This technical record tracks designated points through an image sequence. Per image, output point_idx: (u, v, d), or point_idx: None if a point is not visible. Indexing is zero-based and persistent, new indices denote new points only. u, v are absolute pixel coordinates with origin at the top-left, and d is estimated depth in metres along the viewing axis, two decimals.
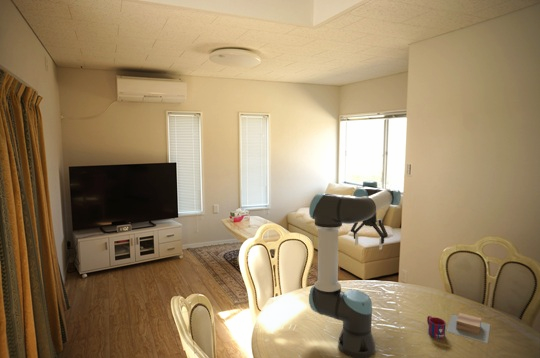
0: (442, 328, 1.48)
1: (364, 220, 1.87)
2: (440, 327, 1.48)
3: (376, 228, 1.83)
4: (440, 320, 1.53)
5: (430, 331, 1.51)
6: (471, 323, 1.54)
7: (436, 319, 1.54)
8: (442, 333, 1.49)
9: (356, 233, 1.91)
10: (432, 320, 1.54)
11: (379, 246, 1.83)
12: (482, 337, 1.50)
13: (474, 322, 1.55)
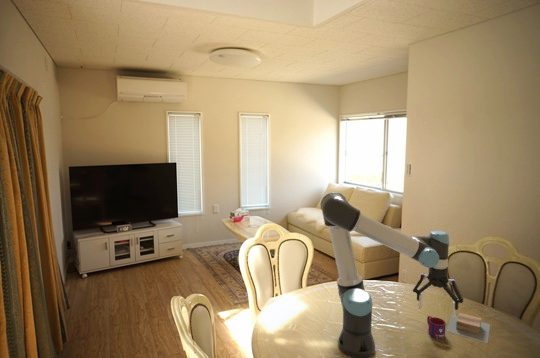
0: (442, 328, 1.48)
1: (431, 279, 1.51)
2: (440, 327, 1.48)
3: (448, 290, 1.48)
4: (440, 320, 1.53)
5: (430, 331, 1.51)
6: (471, 323, 1.54)
7: (436, 319, 1.54)
8: (442, 333, 1.49)
9: (420, 294, 1.56)
10: (432, 320, 1.54)
11: (452, 313, 1.47)
12: (482, 337, 1.50)
13: (474, 322, 1.55)
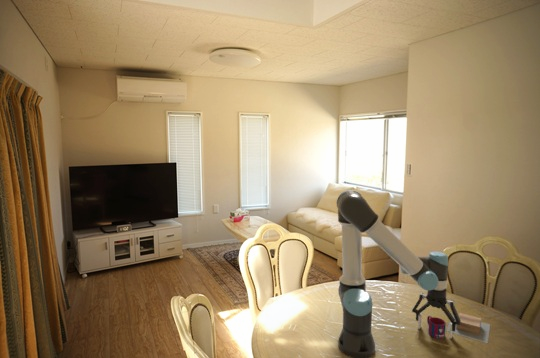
0: (442, 328, 1.48)
1: (430, 300, 1.52)
2: (440, 327, 1.48)
3: (446, 312, 1.49)
4: (440, 320, 1.53)
5: (430, 331, 1.51)
6: (471, 323, 1.54)
7: (436, 319, 1.54)
8: (442, 333, 1.49)
9: (419, 314, 1.57)
10: (432, 320, 1.54)
11: None
12: (482, 337, 1.50)
13: (474, 322, 1.55)
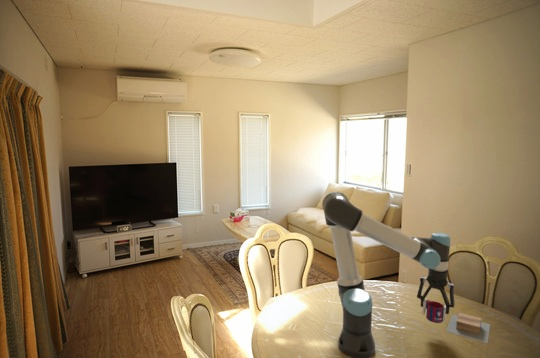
0: (440, 311, 1.48)
1: (431, 282, 1.51)
2: (438, 310, 1.48)
3: (444, 294, 1.49)
4: (438, 304, 1.53)
5: (428, 314, 1.51)
6: (471, 323, 1.54)
7: (434, 303, 1.54)
8: (440, 316, 1.48)
9: (424, 300, 1.55)
10: (430, 304, 1.54)
11: (443, 317, 1.49)
12: (482, 337, 1.50)
13: (474, 322, 1.55)
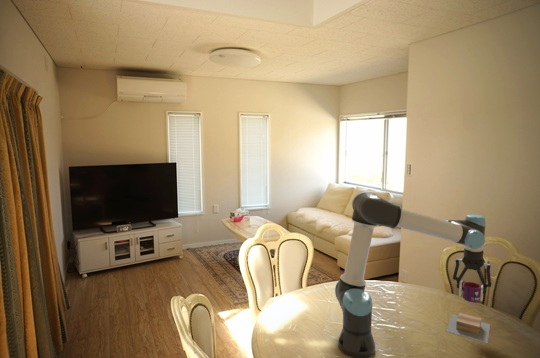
0: (478, 291, 1.50)
1: (467, 263, 1.54)
2: (476, 290, 1.50)
3: (480, 274, 1.51)
4: (475, 284, 1.55)
5: (465, 295, 1.53)
6: (471, 323, 1.54)
7: (471, 284, 1.56)
8: (478, 296, 1.51)
9: (460, 281, 1.57)
10: (467, 285, 1.56)
11: (480, 297, 1.52)
12: (482, 337, 1.50)
13: (474, 322, 1.55)
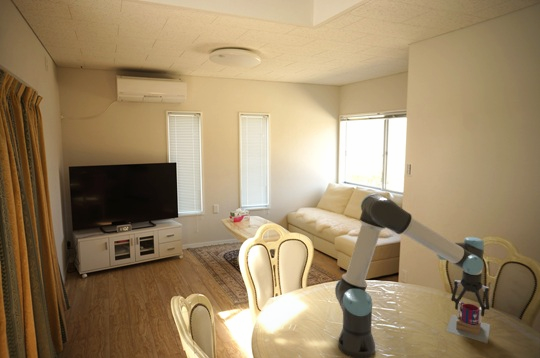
0: (476, 313, 1.52)
1: (465, 285, 1.55)
2: (474, 312, 1.52)
3: (479, 297, 1.52)
4: (473, 306, 1.56)
5: (464, 317, 1.54)
6: None
7: (469, 305, 1.57)
8: (476, 318, 1.52)
9: (458, 303, 1.58)
10: (465, 306, 1.58)
11: None
12: (482, 337, 1.50)
13: None
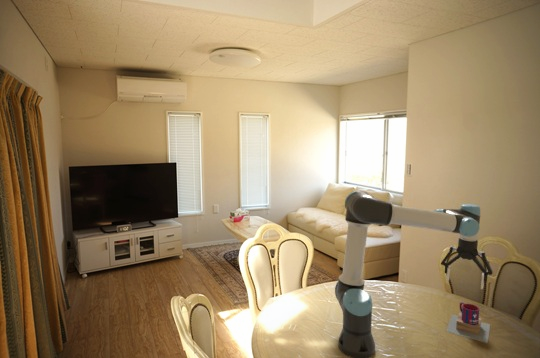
0: (476, 313, 1.52)
1: (461, 252, 1.54)
2: (474, 313, 1.52)
3: (478, 262, 1.50)
4: (473, 306, 1.56)
5: (464, 317, 1.54)
6: None
7: (469, 305, 1.57)
8: (476, 318, 1.52)
9: (448, 266, 1.58)
10: (465, 306, 1.58)
11: (481, 285, 1.50)
12: (482, 337, 1.50)
13: None
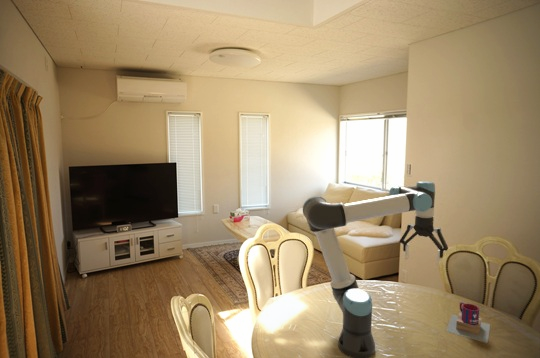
0: (476, 314, 1.52)
1: (418, 229, 1.54)
2: (474, 313, 1.52)
3: (433, 239, 1.51)
4: (473, 306, 1.56)
5: (464, 317, 1.54)
6: None
7: (469, 305, 1.57)
8: (476, 318, 1.52)
9: (406, 244, 1.59)
10: (465, 306, 1.58)
11: (437, 261, 1.51)
12: (482, 337, 1.50)
13: None
